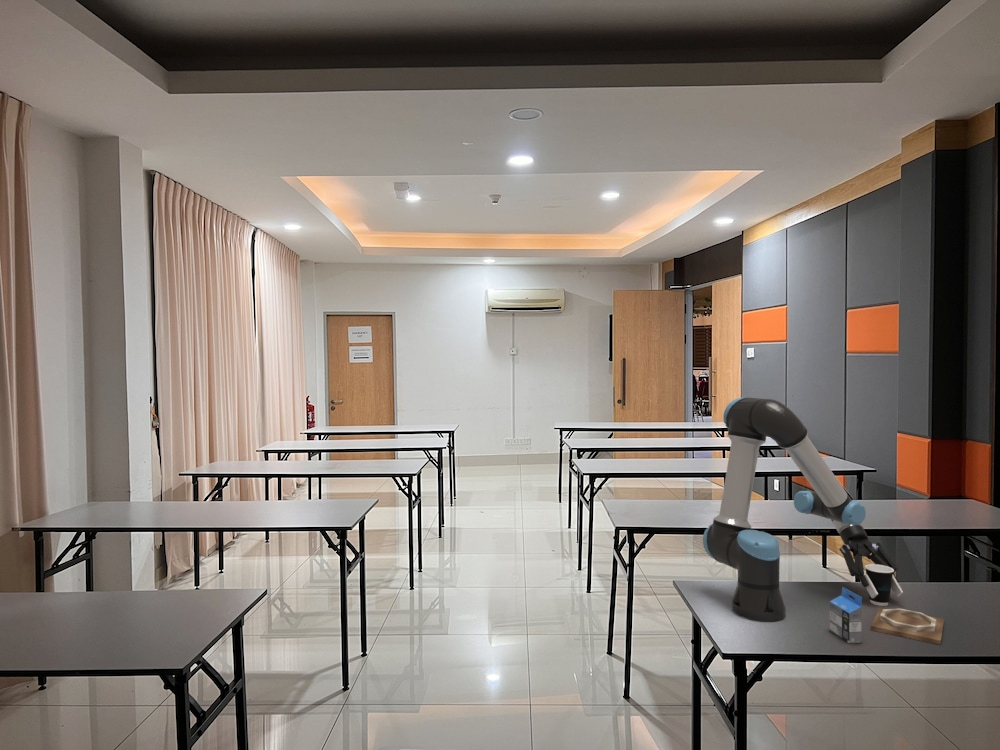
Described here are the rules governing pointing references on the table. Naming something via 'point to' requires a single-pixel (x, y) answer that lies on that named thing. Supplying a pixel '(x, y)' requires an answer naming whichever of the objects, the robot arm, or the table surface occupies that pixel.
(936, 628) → the board
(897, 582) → the robot arm
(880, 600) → the dixie cup
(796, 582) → the table surface
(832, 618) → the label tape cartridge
